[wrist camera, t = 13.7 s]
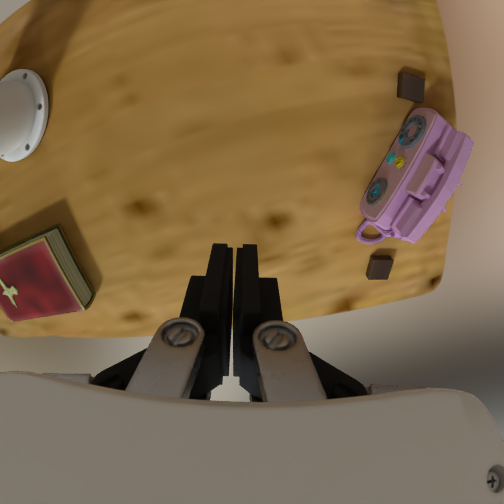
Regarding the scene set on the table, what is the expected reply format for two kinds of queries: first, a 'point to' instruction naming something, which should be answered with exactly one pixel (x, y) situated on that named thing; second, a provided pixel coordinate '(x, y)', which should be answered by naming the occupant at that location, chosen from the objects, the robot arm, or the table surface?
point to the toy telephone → (415, 178)
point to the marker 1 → (379, 267)
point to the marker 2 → (410, 87)
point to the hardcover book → (42, 278)
